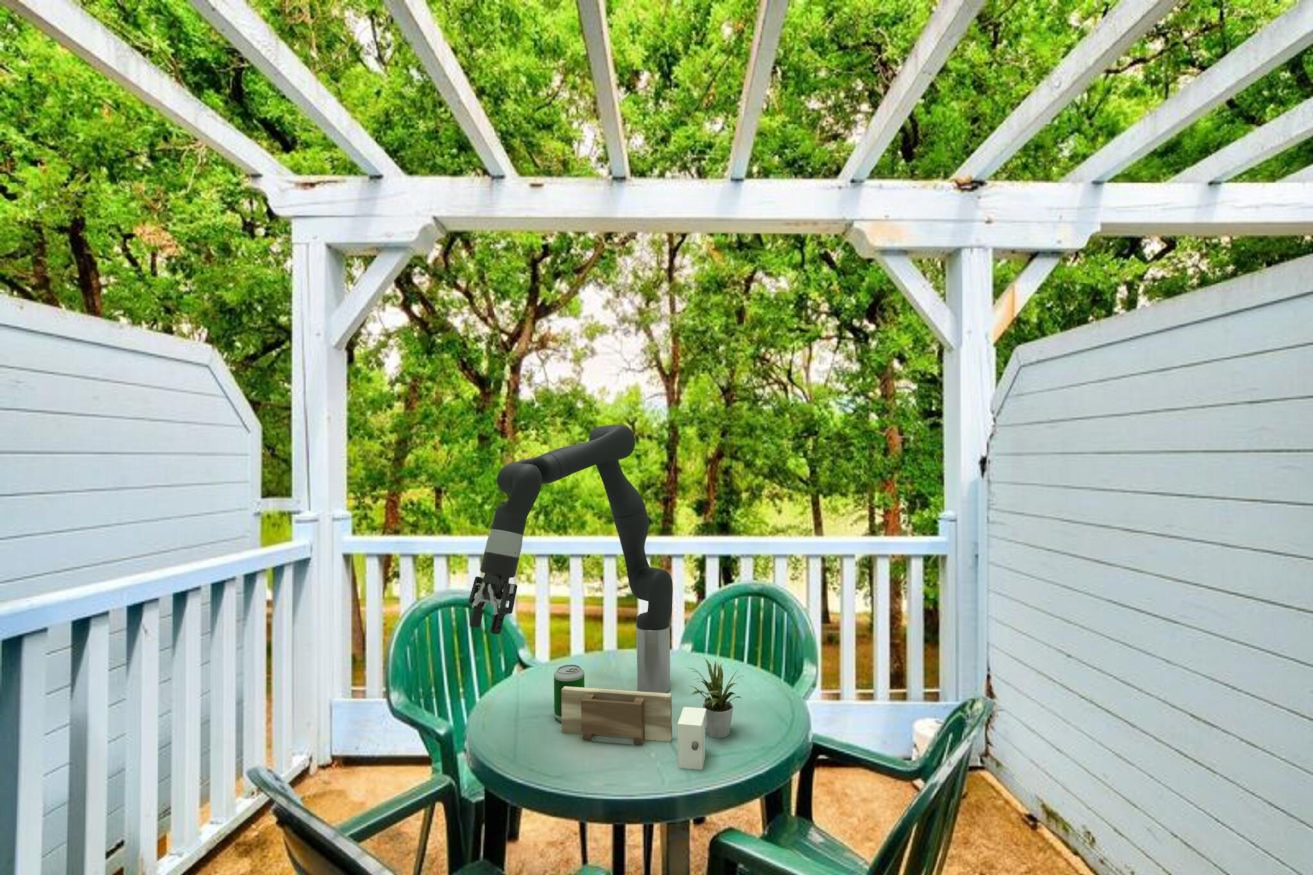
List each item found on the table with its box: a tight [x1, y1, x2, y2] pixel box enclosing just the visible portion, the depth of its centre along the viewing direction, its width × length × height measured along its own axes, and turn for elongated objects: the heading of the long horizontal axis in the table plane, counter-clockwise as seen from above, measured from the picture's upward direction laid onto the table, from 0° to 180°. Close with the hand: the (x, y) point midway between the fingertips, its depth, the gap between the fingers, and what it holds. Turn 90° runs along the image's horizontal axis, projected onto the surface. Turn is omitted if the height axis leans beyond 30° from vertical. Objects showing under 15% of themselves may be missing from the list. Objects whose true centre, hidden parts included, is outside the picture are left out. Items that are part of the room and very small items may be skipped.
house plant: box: [685, 657, 743, 739], centre depth 140 cm, size 14×14×16 cm
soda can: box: [553, 664, 586, 723], centre depth 148 cm, size 8×8×12 cm
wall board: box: [561, 686, 673, 746], centre depth 137 cm, size 5×26×10 cm, turn 78°
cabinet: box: [677, 706, 707, 771], centre depth 127 cm, size 9×5×9 cm, turn 168°
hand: (484, 630), depth 125 cm, fingers open, 8 cm apart
